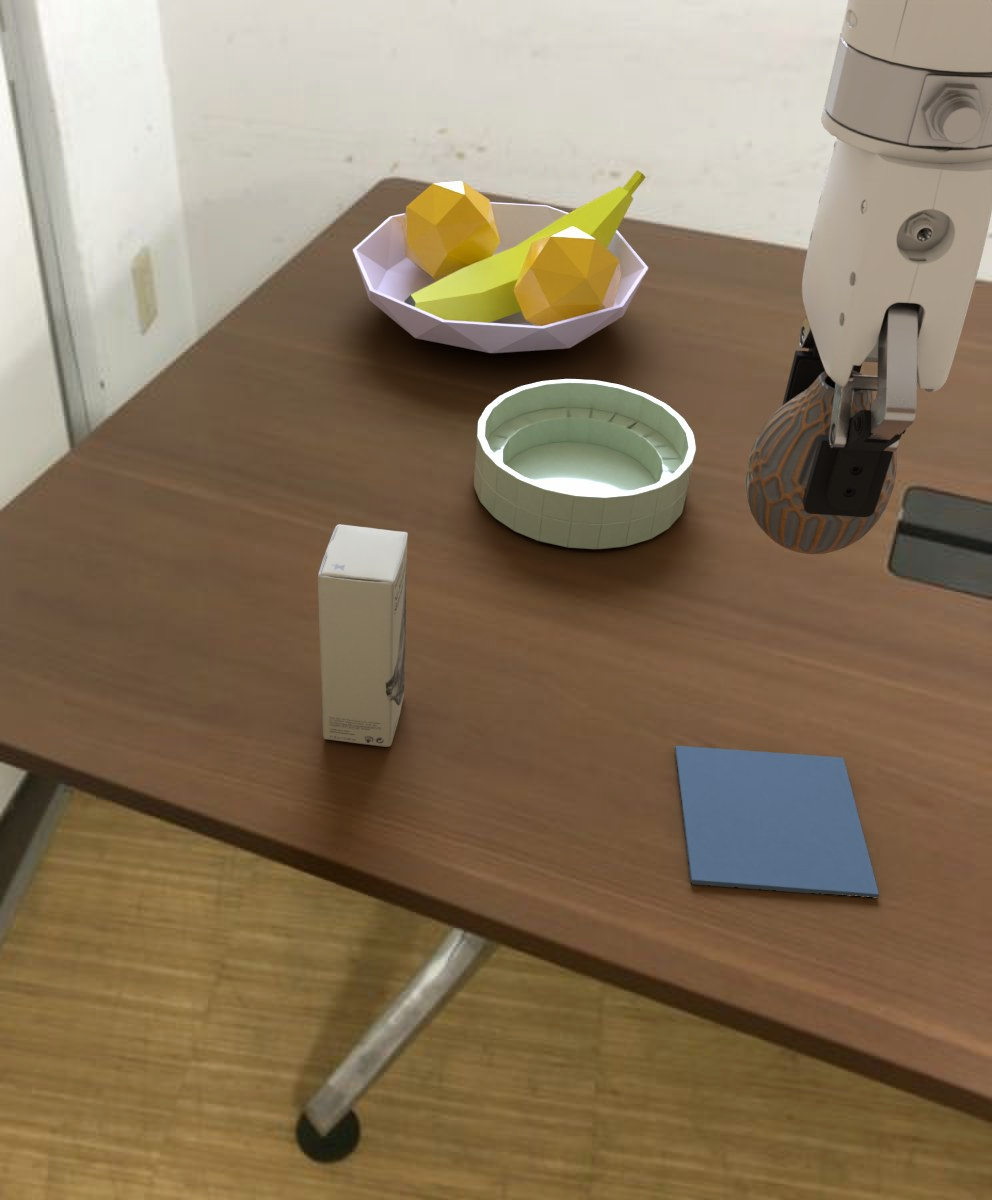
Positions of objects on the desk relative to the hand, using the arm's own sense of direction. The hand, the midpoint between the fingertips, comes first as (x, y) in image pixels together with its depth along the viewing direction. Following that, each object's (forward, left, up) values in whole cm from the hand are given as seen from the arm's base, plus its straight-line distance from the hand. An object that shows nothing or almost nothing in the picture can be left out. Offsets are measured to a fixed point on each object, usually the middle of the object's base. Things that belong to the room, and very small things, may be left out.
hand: (824, 463), depth 61 cm
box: (+23, -2, -22) cm, 32 cm away
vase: (0, 0, -4) cm, 4 cm away
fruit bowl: (+15, -56, -22) cm, 61 cm away
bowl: (+9, -28, -21) cm, 36 cm away
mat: (-1, +4, -21) cm, 22 cm away
